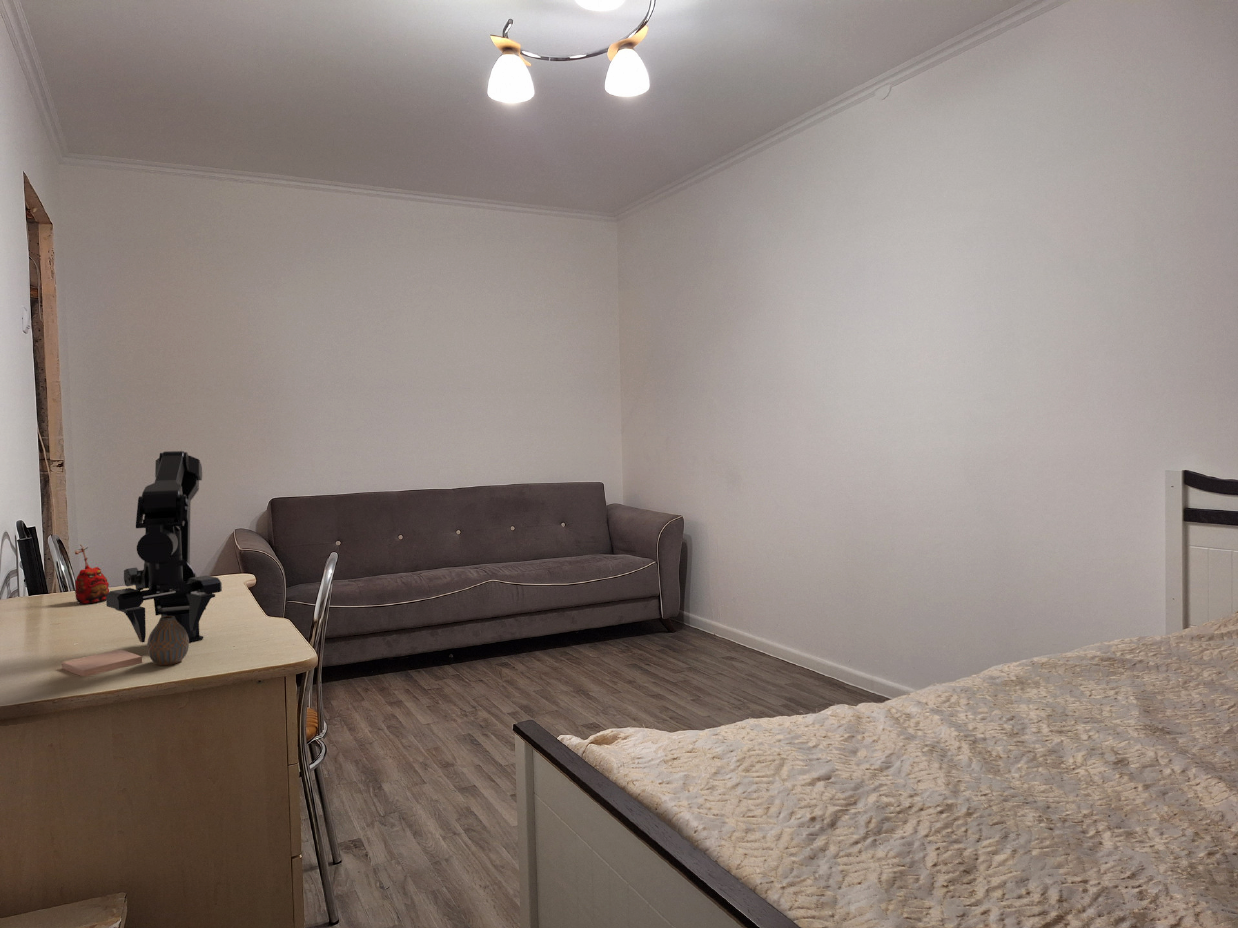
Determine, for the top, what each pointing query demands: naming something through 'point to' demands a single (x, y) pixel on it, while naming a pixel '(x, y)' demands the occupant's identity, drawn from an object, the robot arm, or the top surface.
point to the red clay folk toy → (90, 584)
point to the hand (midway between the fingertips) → (168, 636)
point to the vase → (168, 642)
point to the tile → (101, 662)
